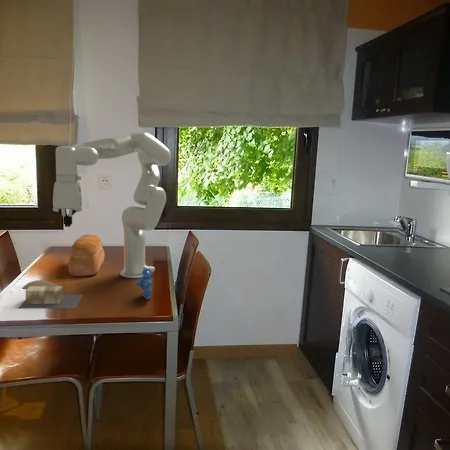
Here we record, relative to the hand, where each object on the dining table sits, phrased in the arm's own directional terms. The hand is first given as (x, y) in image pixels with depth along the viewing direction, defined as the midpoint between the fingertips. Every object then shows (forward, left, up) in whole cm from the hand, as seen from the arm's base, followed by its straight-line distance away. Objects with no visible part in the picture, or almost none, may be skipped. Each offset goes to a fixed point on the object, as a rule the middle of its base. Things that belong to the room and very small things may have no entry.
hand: (67, 226), depth 171 cm
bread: (-1, -33, -28) cm, 43 cm away
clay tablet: (+12, -5, -28) cm, 31 cm away
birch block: (+1, +11, -24) cm, 27 cm away
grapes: (-30, +6, -27) cm, 41 cm away
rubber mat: (+4, +11, -27) cm, 30 cm away
